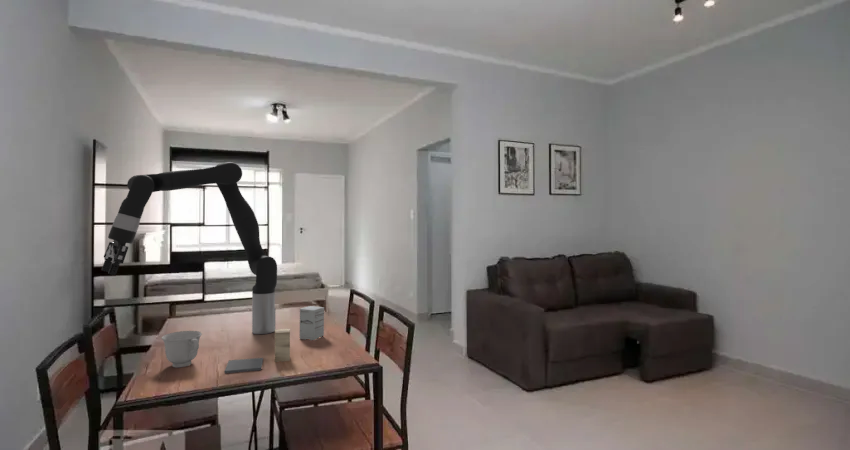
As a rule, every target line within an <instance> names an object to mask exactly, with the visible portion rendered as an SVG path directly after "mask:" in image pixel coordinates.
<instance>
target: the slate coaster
mask: <svg viewBox="0 0 850 450" xmlns="http://www.w3.org/2000/svg"><path fill="white" fill-rule="evenodd" d="M263 363H264V358H263V357H256V358H254V357H253V358H244V359H242V358H241V359H240V358H239V359H232V360H228V362H227V364H226V367H225V368H224V374H232V373H233V374H234V373H235V374H236V373H243V372H256V371H262V369H263V368H262V367H263Z"/></svg>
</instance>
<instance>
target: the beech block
mask: <svg viewBox="0 0 850 450" xmlns="http://www.w3.org/2000/svg"><path fill="white" fill-rule="evenodd" d="M279 361H281V362H290V361H291V328H280V329H275V331H274V363H277V362H278V363H279Z"/></svg>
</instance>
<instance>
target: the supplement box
mask: <svg viewBox="0 0 850 450" xmlns="http://www.w3.org/2000/svg"><path fill="white" fill-rule="evenodd" d="M324 331H325V307H324V306H323V307H322V306H314V305H309V306H305V307H301V308H299V336H298V337H299V338H300V340H306V339H310V340H309V341H312V340H315V339H317V338H319V337H322V336H325V334H324V333H325V332H324ZM322 338H323V337H322ZM317 340H318V339H317ZM315 341H316V340H315Z"/></svg>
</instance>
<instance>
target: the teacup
mask: <svg viewBox="0 0 850 450" xmlns="http://www.w3.org/2000/svg"><path fill="white" fill-rule="evenodd" d="M202 335H203V333H202V332H201V331H197V330H181V331H174V332H169V333H167V334H164V335H162V336H161V340H162V341H163V343H164V350H165V356H166V357H165V358H166V359H167V360H168V362H170V363H172V365H171V366H172V367H173V368H184V367H188V366H190V365H191V364H193V363H192V361H193V360H194V359H195V358H196V357H197V355H198V351H199V346H200V338H201V336H202Z"/></svg>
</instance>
